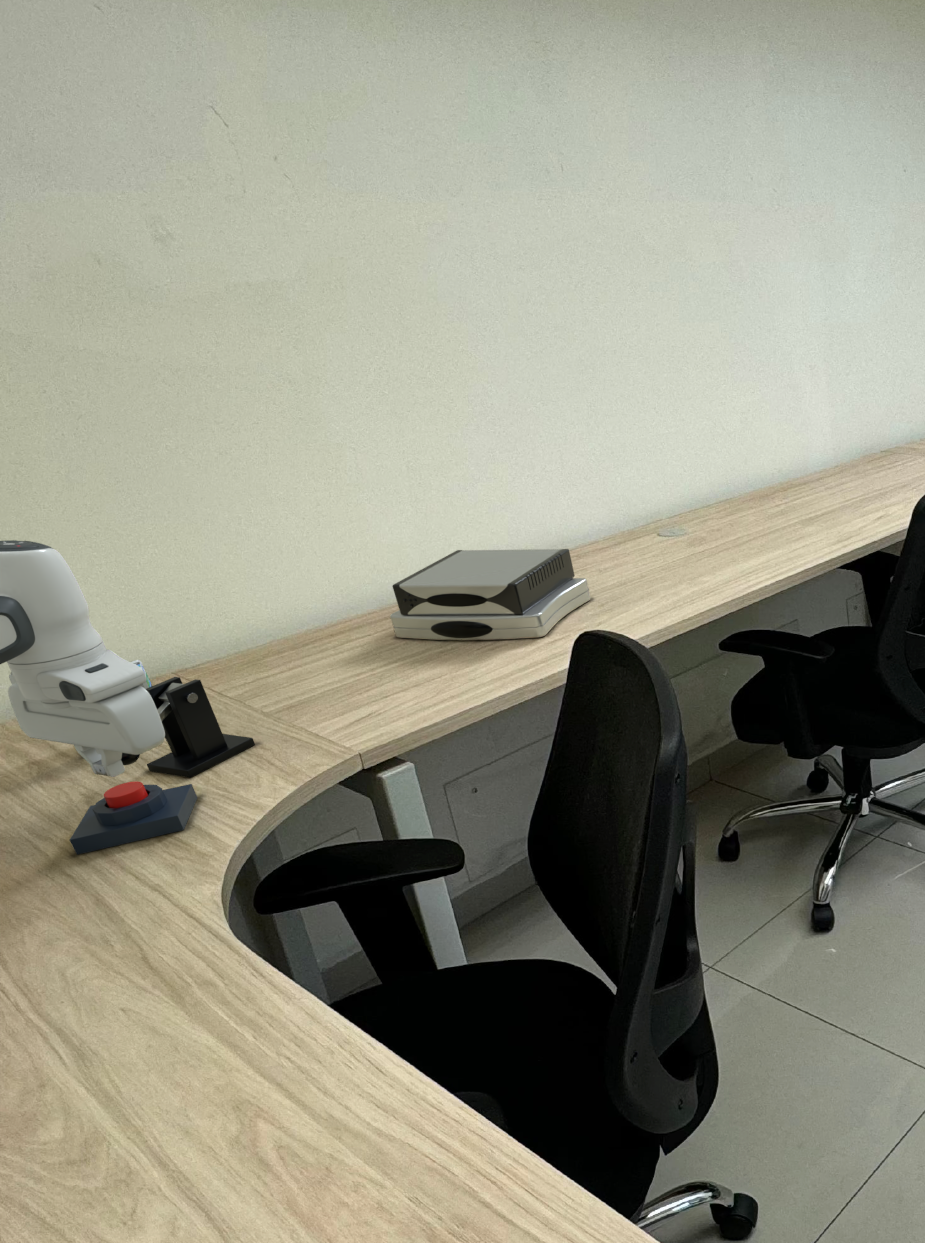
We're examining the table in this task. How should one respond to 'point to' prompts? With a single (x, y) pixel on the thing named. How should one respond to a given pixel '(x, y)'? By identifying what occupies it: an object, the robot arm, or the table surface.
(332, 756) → the table surface
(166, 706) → the switch lever
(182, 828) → the button block
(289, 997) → the table surface
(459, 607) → the satellite receiver
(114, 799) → the button
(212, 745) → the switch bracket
